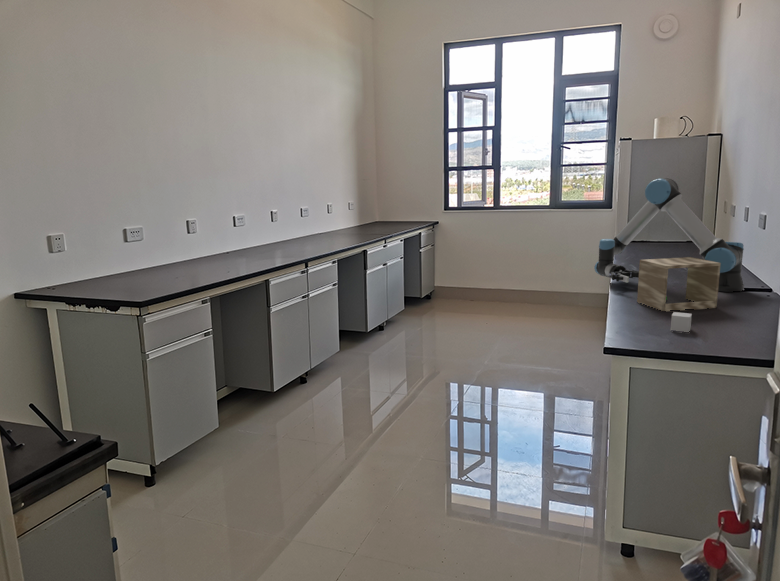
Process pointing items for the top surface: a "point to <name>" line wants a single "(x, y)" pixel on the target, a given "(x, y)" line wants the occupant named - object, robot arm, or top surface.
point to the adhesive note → (681, 321)
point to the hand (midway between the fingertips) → (641, 279)
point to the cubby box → (698, 283)
